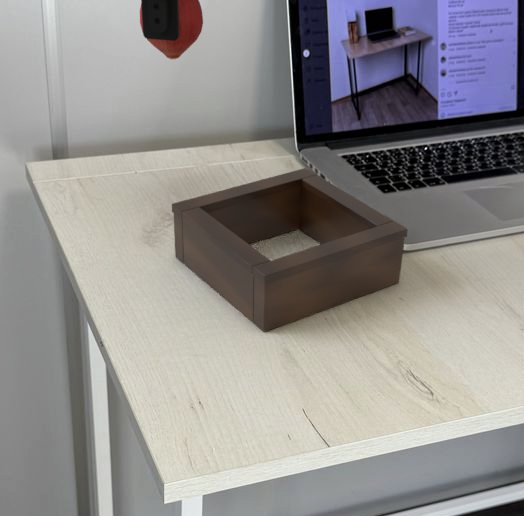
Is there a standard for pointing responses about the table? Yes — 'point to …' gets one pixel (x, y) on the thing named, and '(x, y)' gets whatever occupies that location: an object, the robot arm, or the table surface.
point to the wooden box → (294, 265)
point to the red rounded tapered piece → (181, 29)
